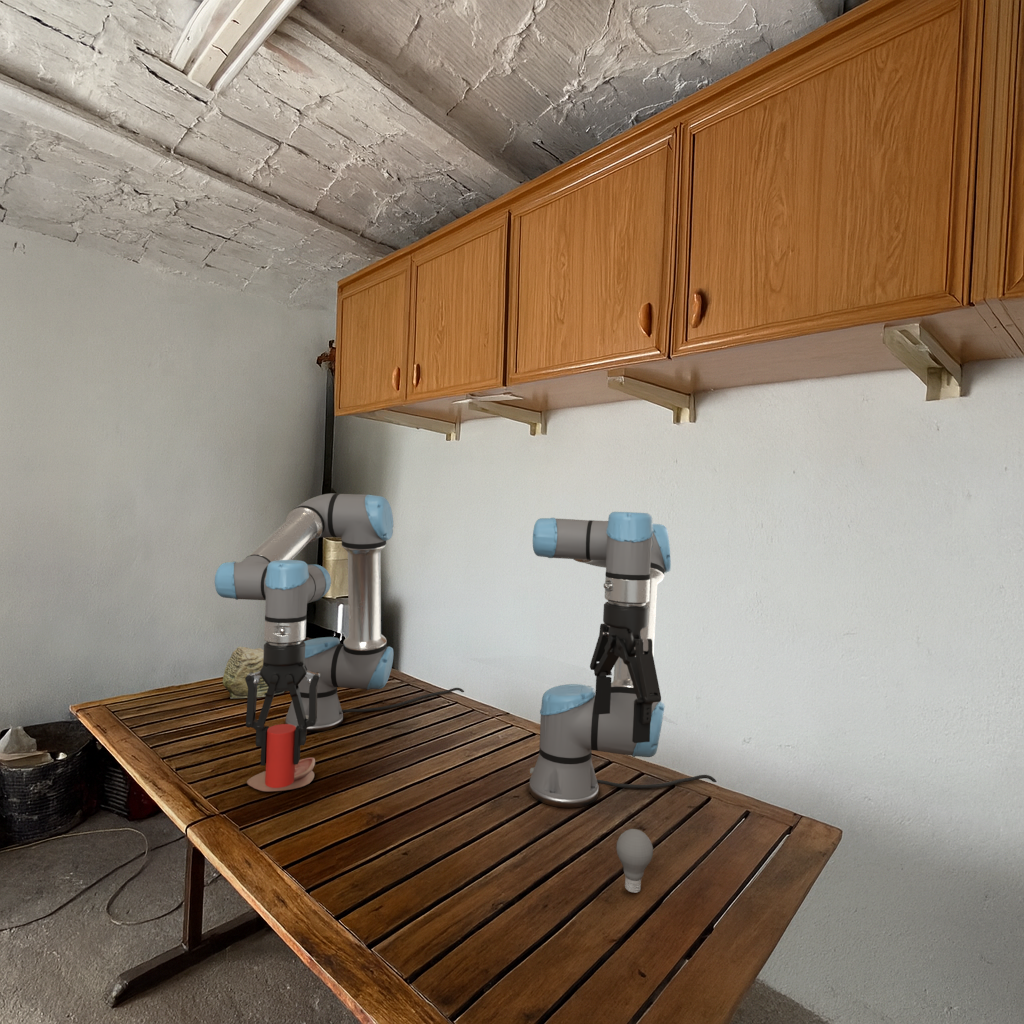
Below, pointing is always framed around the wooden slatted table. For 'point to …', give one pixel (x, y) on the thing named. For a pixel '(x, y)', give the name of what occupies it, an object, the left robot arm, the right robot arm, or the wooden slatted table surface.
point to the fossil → (244, 672)
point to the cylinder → (280, 756)
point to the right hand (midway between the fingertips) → (620, 726)
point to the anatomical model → (301, 777)
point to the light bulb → (634, 857)
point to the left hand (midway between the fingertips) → (280, 761)
